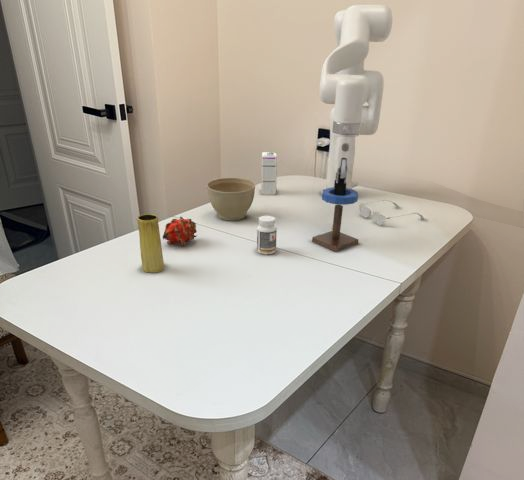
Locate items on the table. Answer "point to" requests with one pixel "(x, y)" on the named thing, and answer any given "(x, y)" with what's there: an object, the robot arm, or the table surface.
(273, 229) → the pill bottle
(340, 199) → the blue ring
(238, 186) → the planter bowl
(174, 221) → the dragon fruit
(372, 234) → the table surface
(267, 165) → the syrup box
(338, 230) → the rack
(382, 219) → the eyeglasses
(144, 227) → the vase
